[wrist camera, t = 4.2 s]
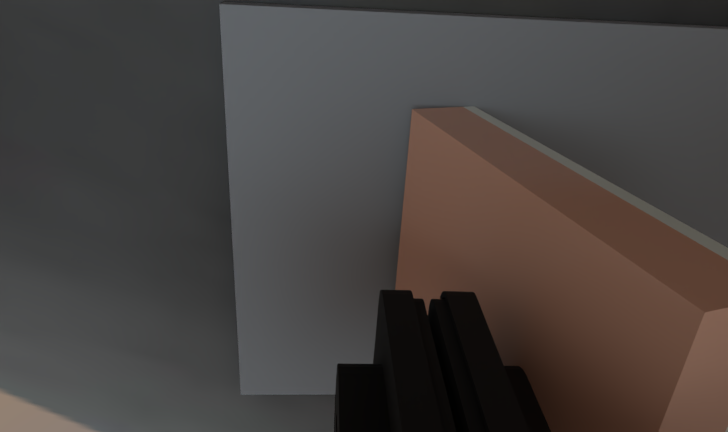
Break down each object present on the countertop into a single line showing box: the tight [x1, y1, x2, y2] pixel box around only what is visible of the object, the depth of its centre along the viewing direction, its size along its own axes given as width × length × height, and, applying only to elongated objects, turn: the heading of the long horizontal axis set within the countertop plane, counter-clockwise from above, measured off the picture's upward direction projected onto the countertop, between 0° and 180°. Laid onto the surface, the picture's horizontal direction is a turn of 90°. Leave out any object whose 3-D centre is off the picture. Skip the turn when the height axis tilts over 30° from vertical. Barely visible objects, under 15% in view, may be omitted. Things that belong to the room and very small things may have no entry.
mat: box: [219, 1, 728, 395], centre depth 15 cm, size 14×11×1 cm
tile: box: [395, 106, 728, 432], centre depth 11 cm, size 2×7×8 cm, turn 177°
